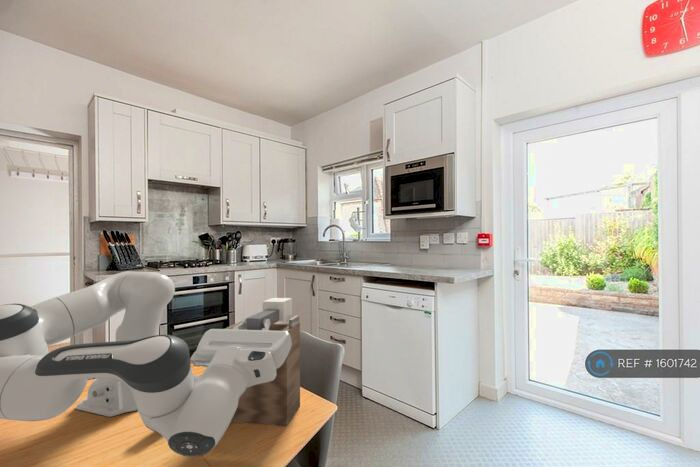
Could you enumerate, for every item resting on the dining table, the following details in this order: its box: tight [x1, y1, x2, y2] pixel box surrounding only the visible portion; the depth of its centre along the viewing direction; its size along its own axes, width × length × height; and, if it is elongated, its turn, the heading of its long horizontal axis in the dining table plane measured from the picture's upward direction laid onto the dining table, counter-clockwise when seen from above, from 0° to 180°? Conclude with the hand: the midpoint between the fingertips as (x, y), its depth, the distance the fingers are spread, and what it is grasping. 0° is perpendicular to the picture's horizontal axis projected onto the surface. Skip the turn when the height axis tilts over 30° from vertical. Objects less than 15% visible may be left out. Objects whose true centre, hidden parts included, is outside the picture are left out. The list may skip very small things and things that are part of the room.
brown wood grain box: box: [224, 314, 301, 427], centre depth 92 cm, size 18×11×26 cm, turn 81°
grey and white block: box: [245, 297, 293, 330], centre depth 87 cm, size 6×19×5 cm, turn 171°
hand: (257, 320), depth 80 cm, fingers closed on grey and white block, 3 cm apart
